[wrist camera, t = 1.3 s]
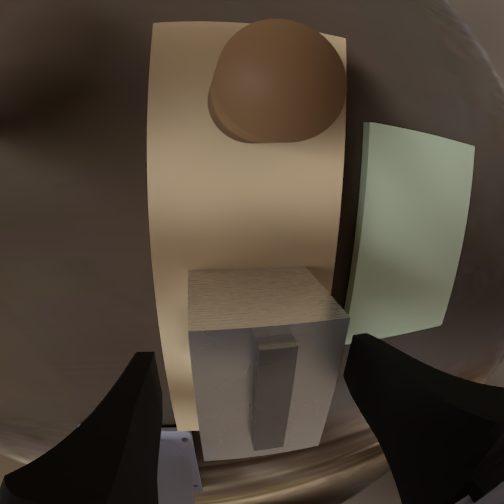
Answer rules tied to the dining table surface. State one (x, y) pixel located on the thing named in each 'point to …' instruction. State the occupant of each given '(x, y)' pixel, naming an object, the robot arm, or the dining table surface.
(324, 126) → the panel with round knob
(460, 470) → the robot arm
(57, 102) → the dining table surface
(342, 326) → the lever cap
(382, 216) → the board
